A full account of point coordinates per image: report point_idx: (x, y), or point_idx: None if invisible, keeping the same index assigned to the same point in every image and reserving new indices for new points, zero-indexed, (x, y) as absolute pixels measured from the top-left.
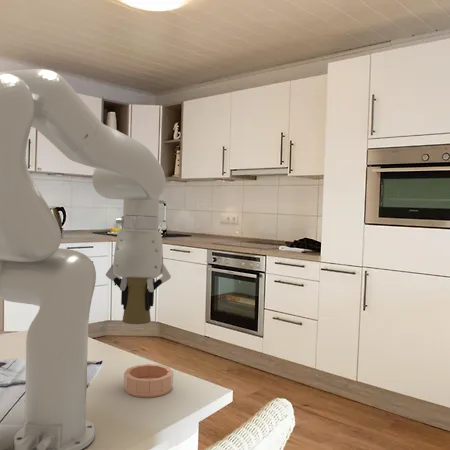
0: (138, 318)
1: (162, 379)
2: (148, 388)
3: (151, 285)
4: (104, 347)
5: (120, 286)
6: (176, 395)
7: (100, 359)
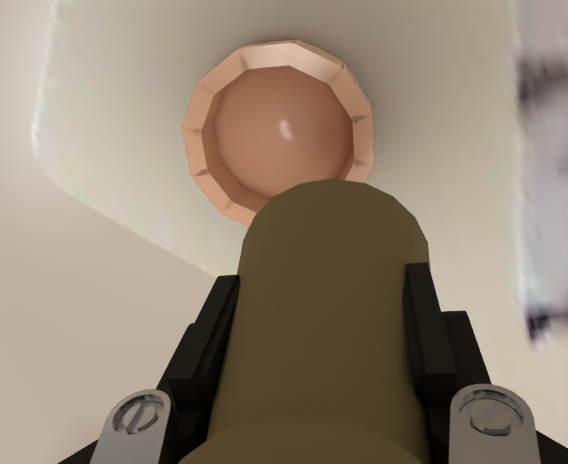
0: (288, 209)
1: (197, 82)
2: (248, 45)
3: (112, 452)
4: None
5: (528, 427)
6: (171, 92)
7: (541, 351)
